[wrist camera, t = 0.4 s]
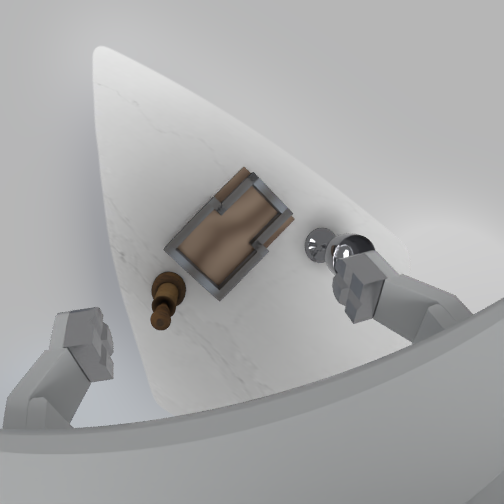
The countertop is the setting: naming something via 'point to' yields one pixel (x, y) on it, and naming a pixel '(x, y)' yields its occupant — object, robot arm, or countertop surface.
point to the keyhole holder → (230, 233)
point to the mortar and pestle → (166, 298)
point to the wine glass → (334, 246)
